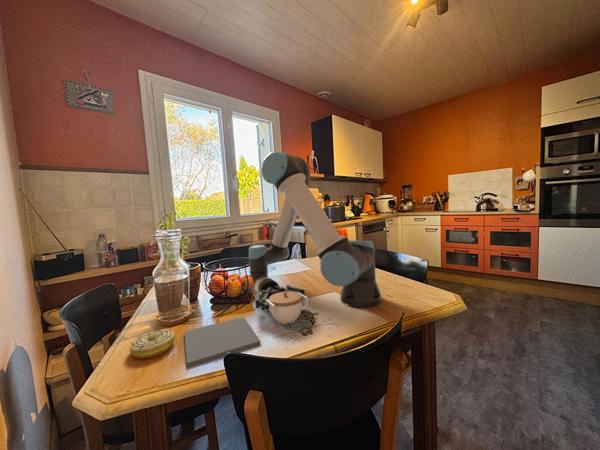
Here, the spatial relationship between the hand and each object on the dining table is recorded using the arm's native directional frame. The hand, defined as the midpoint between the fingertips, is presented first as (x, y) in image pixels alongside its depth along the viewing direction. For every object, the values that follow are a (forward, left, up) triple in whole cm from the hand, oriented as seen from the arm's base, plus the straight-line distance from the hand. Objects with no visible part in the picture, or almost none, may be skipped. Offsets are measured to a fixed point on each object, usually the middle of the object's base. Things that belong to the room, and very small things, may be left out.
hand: (291, 305), depth 75 cm
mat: (+20, +7, -6) cm, 22 cm away
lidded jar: (+2, -4, -6) cm, 8 cm away
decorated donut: (+37, +11, -7) cm, 39 cm away
